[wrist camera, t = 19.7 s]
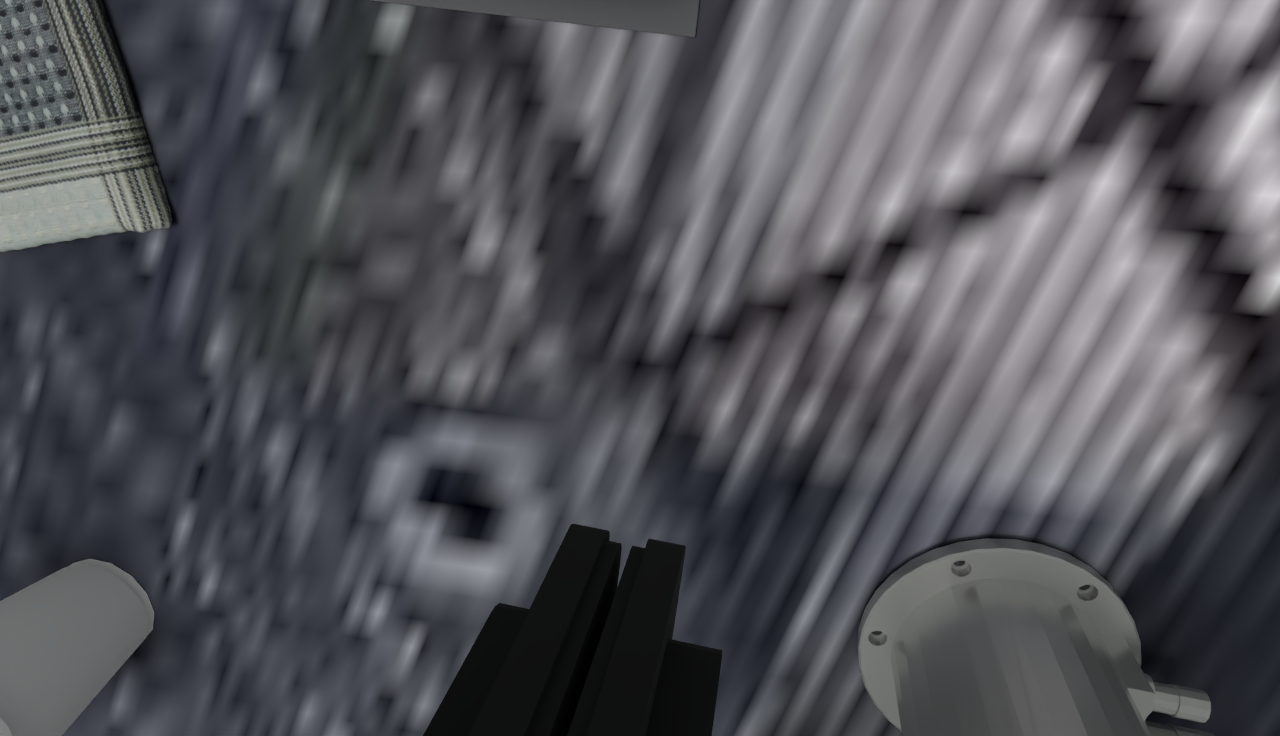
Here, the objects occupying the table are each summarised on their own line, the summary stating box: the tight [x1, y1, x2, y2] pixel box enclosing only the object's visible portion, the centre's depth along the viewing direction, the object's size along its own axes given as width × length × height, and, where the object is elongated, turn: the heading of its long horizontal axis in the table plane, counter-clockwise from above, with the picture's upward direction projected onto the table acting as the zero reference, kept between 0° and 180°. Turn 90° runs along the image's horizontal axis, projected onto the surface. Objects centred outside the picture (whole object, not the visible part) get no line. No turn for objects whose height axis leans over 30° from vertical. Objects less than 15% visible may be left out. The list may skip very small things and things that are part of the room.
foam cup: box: [0, 559, 154, 736], centre depth 44 cm, size 10×9×13 cm
